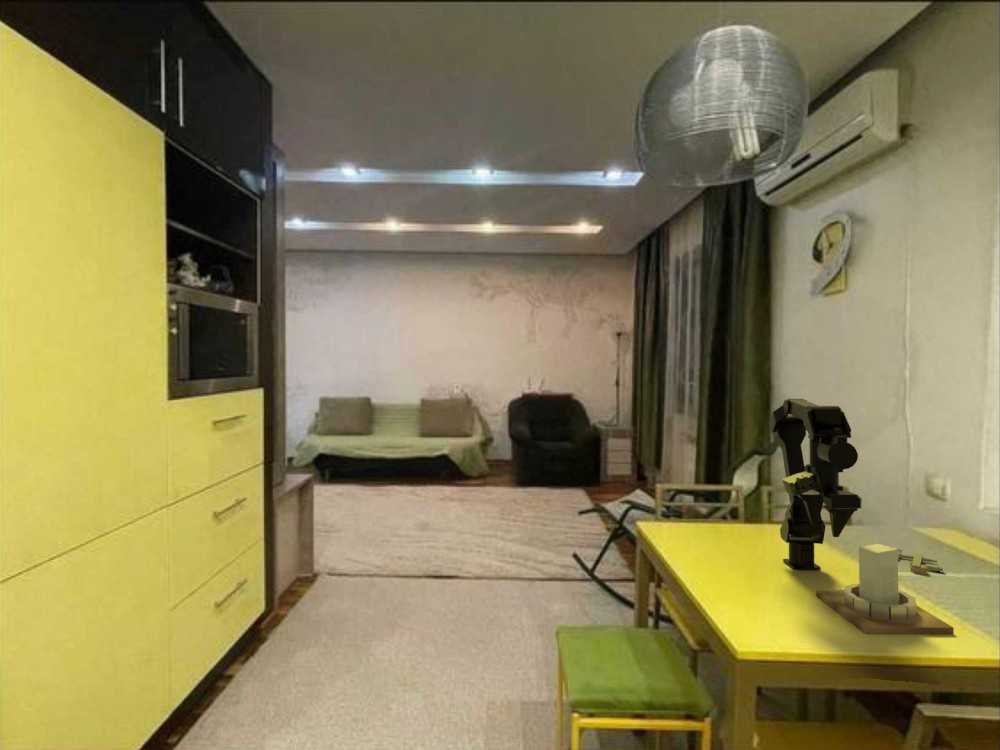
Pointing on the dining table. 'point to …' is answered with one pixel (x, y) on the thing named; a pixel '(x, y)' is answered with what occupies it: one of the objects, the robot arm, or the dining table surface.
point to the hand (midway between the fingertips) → (824, 530)
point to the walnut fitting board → (872, 625)
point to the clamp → (919, 563)
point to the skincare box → (879, 574)
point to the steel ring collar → (880, 605)
